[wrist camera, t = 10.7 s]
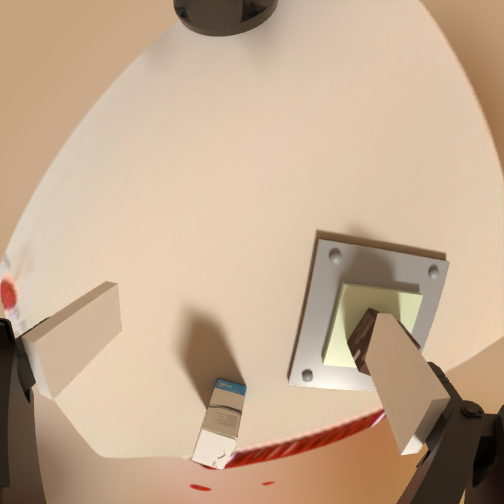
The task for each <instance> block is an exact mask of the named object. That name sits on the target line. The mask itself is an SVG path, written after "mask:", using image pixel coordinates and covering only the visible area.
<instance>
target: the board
mask: <svg viewBox="0 0 504 504" xmlns="http://www.w3.org/2000/svg"><path fill="white" fill-rule="evenodd" d="M449 263H450V262H448V261H446V260H441V259H435V258H430V257H425V256H419V255H414V254H408V253H403V252H397V251H391V250H386V249H380V248H374V247H368V246H362V245H357V244H351V243H345V242H338V241H332V240H326V239H320V238H318V243H317V249H316V254H315V260H314V265H313V271H312V276H311V281H310V286H309V291H308V296H307V301H306V306H305V311H304V315H303V320H302V324H301V329H300V333H299V338H298V342H297V347H296V351H295V355H294V359H293V363H292V368H291V372H290V376H289V380H288V385H297V386H307V387H318V388H330V389H346V390H370V391H377V390H376V387H375V384H374V382H373V379H372V377H371V376H369V375H366V374H363V373H361V372H358V369H357V366H356V364H355V362H354V359H353V357H352V355H351V352H350V350H349V348H348V345H347V341H348V339H349V338H350V336H351V335H352V333H353V331H354V330H355V328H356V327H357V325H358V324H359V322H360V320H361V319H362V317H363V316H364V314H365V313H366V311H367V310H368V308H372V309H374V310H376V311H378V312H380V313H384V314H392V315H393V317H394V318H395V319H396V320H397V321H399V322H401V323H402V324H403V325H404V326H405V328H406V329H407V330H408V332H409V333H410V334H411V335H412V336H413V338H414V339H415V340H416V341H417V342H418V344H419V345H420V346H421V348H420V349H419V352H420V353H422V350H423V348H424V345H425V342H426V340H427V337H428V334H429V331H430V328H431V326H432V323H433V320H434V316H435V313H436V310H437V307H438V304H439V300H440V297H441V293H442V290H443V286H444V283H445V279H446V275H447V271H448V267H449Z"/></svg>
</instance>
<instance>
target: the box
mask: <svg viewBox="0 0 504 504" xmlns="http://www.w3.org/2000/svg"><path fill="white" fill-rule="evenodd" d="M378 313H380V312H378V311H376V310H374V309H372V308H368V310H367V311H366V313H365V314H364V316H363V317H362V319H361V320H360V322H359V324H358V325H357V327H356V328H355V330H354V331H353V333H352V335H351V336H350V338H349V339H348V341H347V345H348V348H349V350H350V352H351V355H352V357H353V359H354V362H355V364H356V366H357V369H358V372H361V373H363V374H366V375H369V376H371V374H370V372H369V370H368V367H367V365H366V362H365V358H366V354H367V351H368V347H369V344H370V340H371V337H372V333H373V329H374V326H375V322H376V318H377V314H378ZM396 321H397V320H396ZM397 322H398V323H399V325H400V326H401V327H402V329H403V330H404V331H405V333H406V334H407V335H408V337H409V338H410V339H411V341H412V342H413V344H414V345H415V346H416V348H417V349H418V351H419V349H420V348H421V346H420V345H419V344H418V342H417V341H416V340H415V339H414V338H413V336H412V335H411V334H410V333H409V332H408V330H407V329H406V328H405V326H404V325H403V324H402V323H401V322H399V321H397Z"/></svg>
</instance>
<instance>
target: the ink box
mask: <svg viewBox="0 0 504 504" xmlns="http://www.w3.org/2000/svg"><path fill="white" fill-rule="evenodd" d="M246 388H247V387H246V386H244V385H240V384H237V383H233V382H229V381H226V380H222V379H217V382H216V385H215V388H214V391H213V394H212V397H211V399H210V402H209V405H208V408H207V411H206V414H205V417H204V420H203V423H202V426H201V429H200V432H199V436H198V439H197V442H196V445H195V449H194V452H193V455H192V459H191V460H192V461H195V462H198V463H201V464H204V465H208V466H211V467H214V468H218V469H221V470H222V469H223V468H224V466H225V465H226V463H227V460H228V458H229V457H230V455H231V452H232V451H233V449H234V447H235V445H236V443H237V441H236V440H237V437H238V431H239V426H240V420H241V415H242V410H243V404H244V398H245V393H246Z"/></svg>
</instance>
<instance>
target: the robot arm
mask: <svg viewBox="0 0 504 504" xmlns="http://www.w3.org/2000/svg"><path fill="white" fill-rule="evenodd" d="M277 2H278V0H174V9H175V12H176V14H177V15H178V17H179V19H180V20H181V22H182V23H183V24H184V25H185V26H186V27H187V28H188V29H190V30H192V31H194V32H196V33H199V34H202V35H207V36H230V35H235V34H239V33H243V32H246V31H248V30H251V29H253V28H255V27H257V26H259V25H260V24H262V23H263V22H264V21H266V20H267V19H268V18H269V17H270V16H271V15H272V13H273V12H274V10H275V8H276V6H277ZM121 330H122V326H121V316H120V306H119V294H118V283H112V282H107V281H106V282H104V283H103V284H101V285H99V286H98V287H96V288H95V289H93V290H91V291H90V292H88V293H87V294H85V295H84V296H82V297H80V298H79V299H77V300H76V301H74V302H73V303H71V304H70V305H68V306H66V307H65V308H63V309H62V310H60V311H59V312H57V313H56V314H54V315H53V316H51V317H48V318H46V319H44V320H43V321H41V322H40V323H39V324H37V325H35V326H34V327H33V328H31V329H29V330H28V331H26V332H25V333H23V334H22V335H20V336H19V337H18V338H16V339H15V337H14V333H13V329H12V325H11V322H10V321H9V320H8V319H5V318H0V504H46V500H45V495H44V490H43V485H42V480H41V474H40V469H39V461H38V454H37V445H36V435H35V422H34V395H33V391H32V388H31V387H32V386H33V385H34V384H35V383H36V385H37V387H38V390H39V393H40V394H41V395H43V396H45V397H47V398H49V399H51V400H54V399H55V398H56V397H57V396H58V395H59V393H60V392H61V391H62V390H63V389H64V388H65V387H66V386H67V385H68V384H69V383H70V382H71V381H72V380H73V379H74V378H75V377H76V376H77V375H78V374H79V373H80V372H81V371H82V370H83V369H84V368H85V367H86V366H87V365H88V364H89V362H90V361H91V360H92V359H93V358H94V357H95V356H96V355H97V354H98V353H99V352H100V351H101V350H102V349H103V348H104V347H105V346H106V345H107V344H108V343H109V342H110V341H111V340H112V339H113V338H114V337H115V336H116V335H117V334H118V333H119V332H120V331H121ZM365 362H366V365H367V367H368V370H369V372H370V374H371V377H372V379H373V382H374V384H375V387H376V390H377V392H378V395H379V397H380V400H381V402H382V405H383V408H384V410H385V413H386V416H387V418H388V421H389V424H390V426H391V429H392V432H393V435H394V437H395V440H396V443H397V446H398V449H399V452H400V455H406V454H413V453H418V452H419V451H420V449H421V448H422V446H423V445H424V443H425V442H426V444H427V447H428V451H427V452H426V454H425V455H424V456H423V458H422V459H421V461H420V462H419V464H418V465H417V466H416V467H417V470H416V472H415V474H414V476H413V477H412V479H411V481H410V482H409V484H408V486H407V487H406V489H405V491H404V492H403V494H402V496H401V497H400V499H399V500H398V502H397V503H396V504H459V503H460V500H461V498H462V495H463V492H464V490H465V500H464V504H504V405H502V407H501V408H500V410H499V412H498V413H497V414H485V413H484V411H483V409H482V408H481V407H480V406H479V405H478V404H476V403H474V402H471V401H467V400H466V401H463V400H462V398H461V397H460V396H459V394H458V393H457V391H456V390H455V388H454V387H453V386H452V384H451V383H449V380H448V378H447V377H445V374H444V373H443V371H442V370H441V369H440V368H439V367H438V366H437V365H435V364H434V363H432V362H426V360H425V359H424V358H423V356H422V355H421V353H420V352H419V351H418V349H417V348H416V346H415V345H414V344H413V342H412V341H411V339H410V338H409V337H408V335H407V334H406V333H405V331H404V330H403V329H402V327H401V326H400V325H399V323H398V322H397V321H396V319H395V318H394V317H393V315H392V314H384V313H378V314H377V318H376V322H375V326H374V329H373V333H372V337H371V340H370V344H369V347H368V351H367V354H366V358H365ZM465 487H466V489H465Z"/></svg>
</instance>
